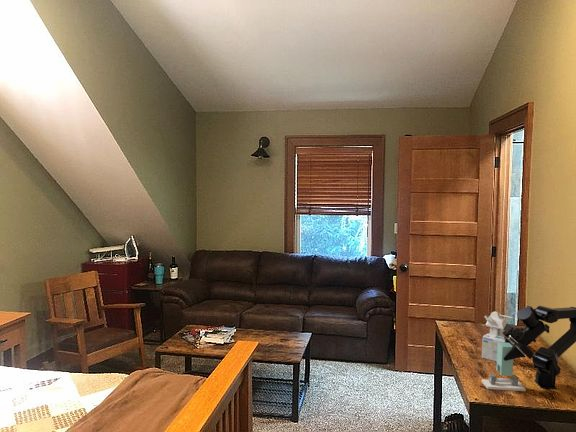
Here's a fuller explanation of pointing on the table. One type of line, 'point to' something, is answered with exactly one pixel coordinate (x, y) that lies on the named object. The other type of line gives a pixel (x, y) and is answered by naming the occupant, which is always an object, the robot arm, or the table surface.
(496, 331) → the white mech figurine
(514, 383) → the shaft bracket
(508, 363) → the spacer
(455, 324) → the table surface
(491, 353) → the light bulb box
